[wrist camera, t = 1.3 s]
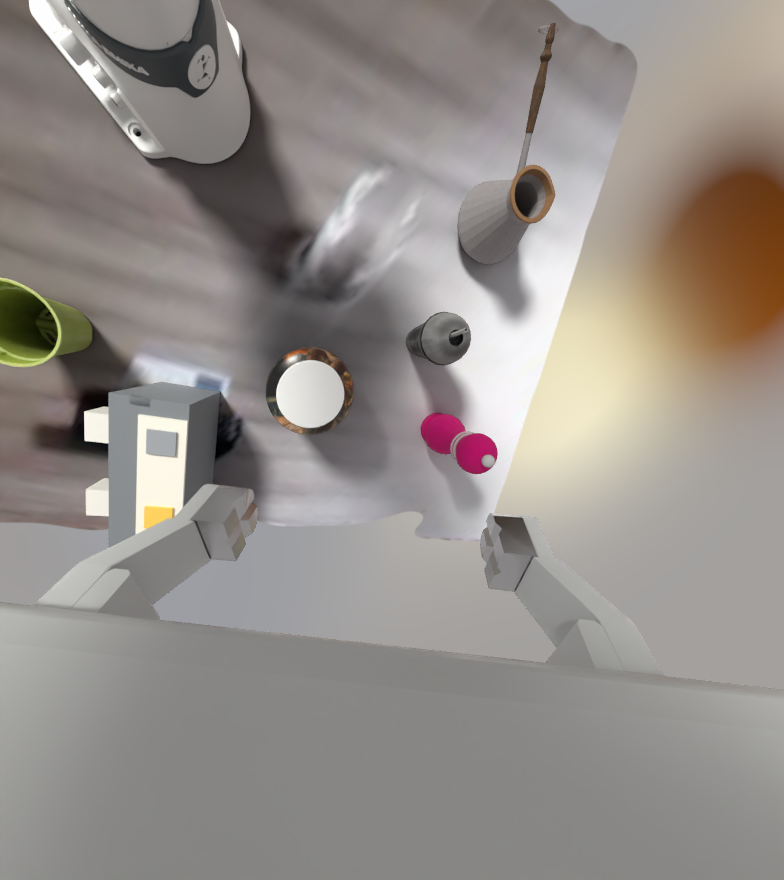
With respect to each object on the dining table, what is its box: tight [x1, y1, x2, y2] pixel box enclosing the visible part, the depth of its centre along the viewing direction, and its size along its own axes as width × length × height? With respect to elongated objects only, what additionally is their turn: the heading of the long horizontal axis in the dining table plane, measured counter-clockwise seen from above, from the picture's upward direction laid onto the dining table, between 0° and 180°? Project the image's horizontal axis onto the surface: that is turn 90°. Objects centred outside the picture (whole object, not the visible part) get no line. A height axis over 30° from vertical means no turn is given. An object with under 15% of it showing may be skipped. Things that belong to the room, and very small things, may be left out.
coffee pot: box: [457, 23, 559, 264], centre depth 43 cm, size 21×12×15 cm, turn 5°
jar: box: [266, 347, 354, 435], centre depth 45 cm, size 12×12×15 cm
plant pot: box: [0, 278, 92, 367], centre depth 38 cm, size 9×9×9 cm
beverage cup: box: [406, 312, 471, 365], centre depth 45 cm, size 7×7×20 cm
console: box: [108, 382, 220, 547], centre depth 43 cm, size 8×20×14 cm, turn 168°
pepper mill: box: [421, 413, 497, 474], centre depth 50 cm, size 7×7×20 cm
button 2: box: [86, 478, 109, 516], centre depth 41 cm, size 5×4×4 cm
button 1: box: [84, 407, 109, 443], centre depth 39 cm, size 5×4×4 cm
